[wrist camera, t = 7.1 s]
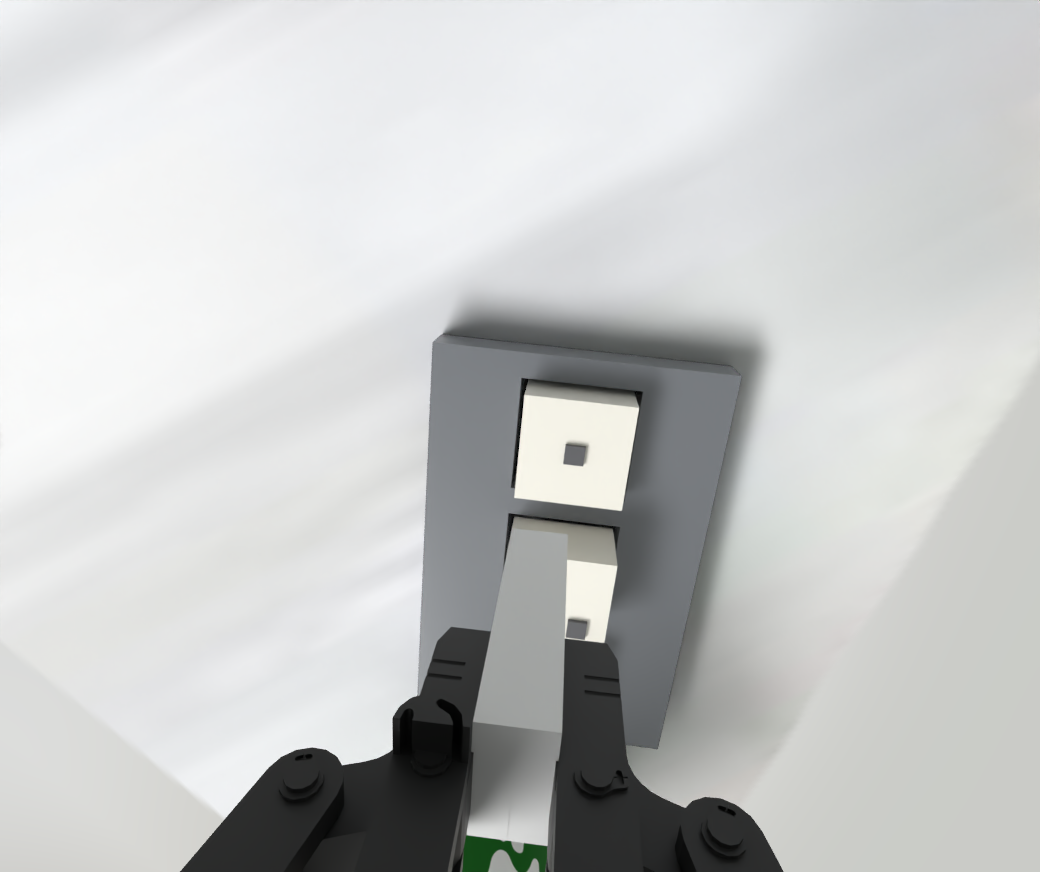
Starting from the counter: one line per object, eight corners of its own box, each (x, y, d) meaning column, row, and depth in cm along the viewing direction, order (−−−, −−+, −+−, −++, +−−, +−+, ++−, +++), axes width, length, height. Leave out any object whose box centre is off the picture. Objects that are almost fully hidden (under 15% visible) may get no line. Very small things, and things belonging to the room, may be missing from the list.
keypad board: (441, 334, 30) (432, 342, 28) (731, 365, 29) (741, 376, 27) (424, 690, 37) (416, 715, 35) (653, 721, 37) (657, 749, 35)
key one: (530, 375, 30) (523, 396, 26) (632, 386, 30) (639, 409, 26) (520, 468, 31) (513, 499, 28) (616, 480, 31) (622, 512, 28)
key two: (514, 516, 31) (506, 554, 27) (613, 528, 31) (617, 568, 27) (505, 599, 32) (497, 645, 29) (599, 611, 32) (602, 659, 29)
